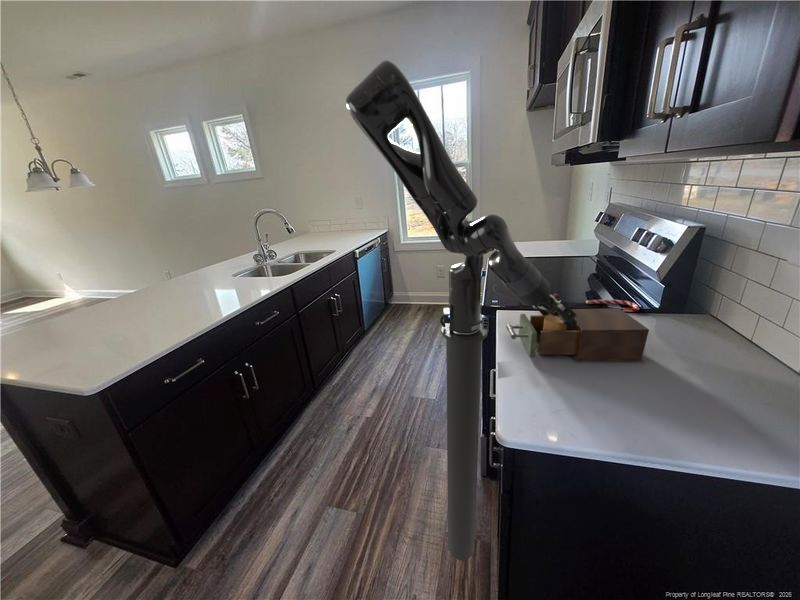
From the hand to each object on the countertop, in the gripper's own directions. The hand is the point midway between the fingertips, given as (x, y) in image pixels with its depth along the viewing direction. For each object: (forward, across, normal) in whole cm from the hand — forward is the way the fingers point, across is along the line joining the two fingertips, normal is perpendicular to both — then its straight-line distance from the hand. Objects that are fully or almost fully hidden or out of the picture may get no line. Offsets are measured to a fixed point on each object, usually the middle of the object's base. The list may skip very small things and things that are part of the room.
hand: (559, 319), depth 80 cm
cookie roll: (+4, 0, +6) cm, 7 cm away
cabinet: (+13, -3, -1) cm, 14 cm away
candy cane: (+32, +15, -20) cm, 40 cm away
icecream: (+16, +18, -4) cm, 24 cm away
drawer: (+4, +2, +8) cm, 9 cm away
